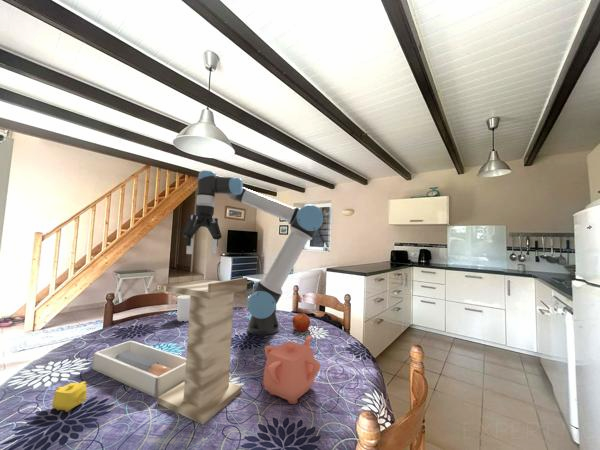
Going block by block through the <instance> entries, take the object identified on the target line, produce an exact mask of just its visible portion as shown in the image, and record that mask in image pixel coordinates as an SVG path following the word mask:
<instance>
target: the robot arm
mask: <svg viewBox="0 0 600 450" xmlns="http://www.w3.org/2000/svg"><path fill="white" fill-rule="evenodd" d="M243 182H244V181H243V179H242V178H240V177H229V176H228V177H227V176H217V174H216V172H214V171H210V170H201V171H199V173H198V177H197V187H196V190H197V191H196V203H195V204H196V206H195V214H190V215H189V220H188V222H187V223H186V225H185V227H184V229H183V232H182V233H181V236H182V237H184V239H185V247H186V254H185V255H193V249H194V235H195V234H196V233H197V231H199V229H200V228H201V227H203V228H206V229H207V230H208V231H209V233H210V235H211V237H212V239H211V246H210V249H211V250H210V254H217V250H218V245H219V240H221V239H222V237H223V236H222V232H221V230H220V229H221V228H220V225H219V219H218V218H217V217H216V218H215V217H213V216H214V214H215V202H216V200H215V198H216V194H217V195H218V194H220V195H221V194H222V195H226V196H228V197H229V199H231V200H233V201H237V202H239V203H242V204H245V205H246V206H247V205H248V206H249V207H252V208H253V209H257V210H260V211H262V212H264V213H266V214H269V215H270V216H273V217H276V218H278V219H281V220H284V221H286V222H287V224H288V225H290V226H289V229H290V233H289V235H288V236H287V237H286V240H285V242H284V244H283V246H282V247H281V248H280V250H279V252H278V254H277V256H276V258H275V259H274V261H273V263H272V265H271V267H269V270H268V272H267V273H266V275H265V277H264V278H263V279H260V280H259V281H255V282H254V283H253V286H252V289H253V292H252V293H251V294H250V295H249V297H248V300H247V310H248V312H249V313H250V315H251V317H250V319H249V321H248V325H247V331H248V333H250V334H253V335H257V336H264V335H265V336H268V335H269V336H270V335H273V334H276V333H277V332H279V330H280V323H279V320H278V316H277V304H278V302H279V301H280V299H281V297H282V295H283V290H282V287H283V286H284V284H285V283H286V281H287V279H288V277H289V275H290V274H291V271H292V270H293V268H294V266H295V265H296V262H297V260H298V259H299V257H300V255H301V253H302V252H303V250H304V249H305V247H306V244H307V243H308V242H309V241H311V240H313V239H314V237H315V235H316V234H317V231H318V229H320V228H321V226H322V225H323V223H324V214H323V212H322V210H321V209H320V208H319V207H318V206H316V205H313V204H305V205H303V206H302V207H297V206H294V207H293V206H290V205H288V204H285V203H282V202H281V201H278V200H276V199H273V198H271V197H268V196H265V195H263V194H261V193H258V192H256V191H253V190H251V189H248V188H247V187H244V183H243Z"/></svg>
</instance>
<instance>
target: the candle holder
mask: <svg viewBox="0 0 600 450" xmlns="http://www.w3.org/2000/svg"><path fill="white" fill-rule="evenodd" d="M190 297H191V296H190V295H184V294H180V295H179V296H177V297H176V299H177V303H176V304H177V305H176V307H177V309H176V310H177V311H176V320H177V321H178V322H182V321H184V322H189V311H190Z"/></svg>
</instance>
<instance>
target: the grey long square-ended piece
mask: <svg viewBox="0 0 600 450" xmlns="http://www.w3.org/2000/svg"><path fill="white" fill-rule="evenodd" d="M116 359H117V360H118V361H121V362H123V363H126V364H128V365H131V366H134V367H136V368H139V369H141V370H144V371H146V372H149V373H151V374H154V375H156V376H160V375H162V374H164V373H166V372H168V371H170V370H172V369H171V368H168V367H165V366H162V365H160V364H159V362H156V361H153V360H150V359H147V358H144V357H142V356H139V355H136V354H133V353H130V352H125V353H122V354H118V355H117V356H116Z"/></svg>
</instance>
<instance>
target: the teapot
mask: <svg viewBox="0 0 600 450" xmlns="http://www.w3.org/2000/svg"><path fill="white" fill-rule="evenodd" d="M312 337H313V335H311V334H310V335H308V336H307V337H306V338H305V340H304V343H303V344H301V343H297V342H294V341H286V342H283V343H281V344H280V345H277V346H275V345H265V348H264V352H265V357H266V363H265V366H264V371H263V378H262V379H263V383H262V384H263V387H264V390H265V391H267V392H269V394H270V395H271V396H277V397H279V398H282V399H284V400H286V401H287V402H288V403H289V404H291V405H296V404H297V403H298V402H299V401H298V399H299V398H300V397H302V396H304V395H305V394H306V393H307V392H309V391H310V388H312V386H313V384H314V382H315V381H316V380H315V379H316V375H317V374H318V373H319V372H320V370H321V363H320V361H318V360H317V359H315V355H314V350H313V347H311V345H310V343H311V340H312Z"/></svg>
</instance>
